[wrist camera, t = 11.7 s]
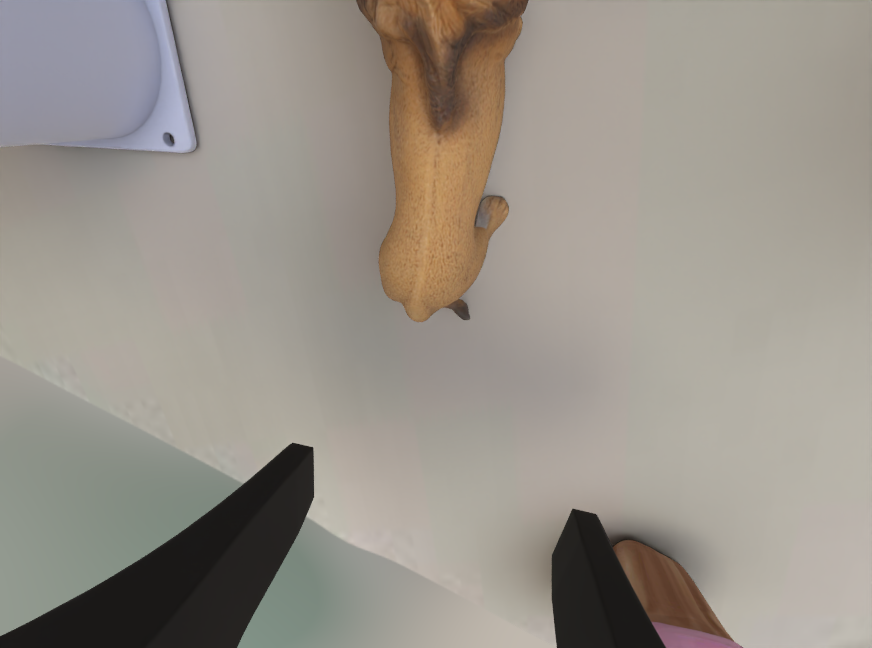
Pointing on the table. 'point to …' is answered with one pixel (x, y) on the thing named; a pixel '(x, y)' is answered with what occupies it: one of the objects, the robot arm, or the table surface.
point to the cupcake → (671, 599)
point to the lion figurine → (442, 142)
